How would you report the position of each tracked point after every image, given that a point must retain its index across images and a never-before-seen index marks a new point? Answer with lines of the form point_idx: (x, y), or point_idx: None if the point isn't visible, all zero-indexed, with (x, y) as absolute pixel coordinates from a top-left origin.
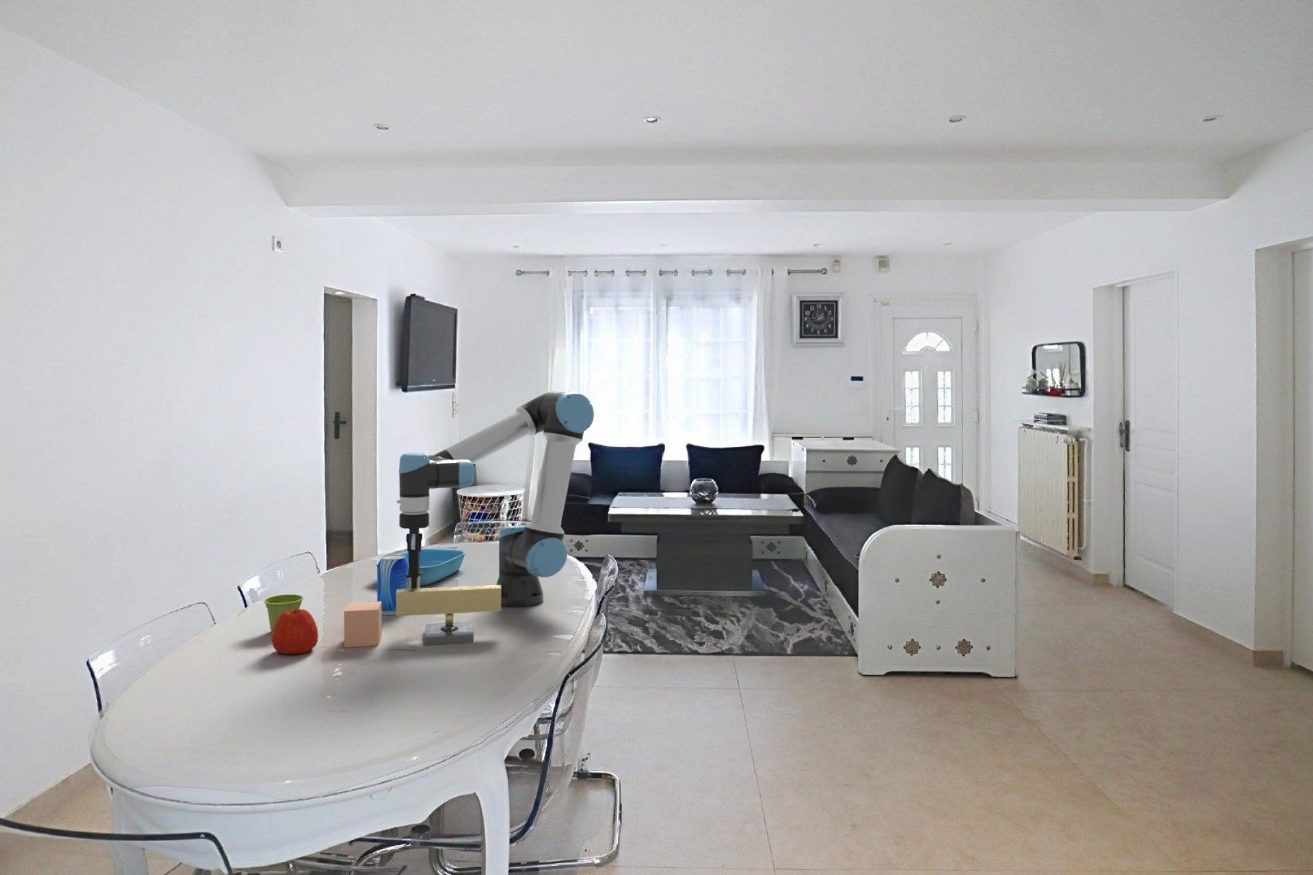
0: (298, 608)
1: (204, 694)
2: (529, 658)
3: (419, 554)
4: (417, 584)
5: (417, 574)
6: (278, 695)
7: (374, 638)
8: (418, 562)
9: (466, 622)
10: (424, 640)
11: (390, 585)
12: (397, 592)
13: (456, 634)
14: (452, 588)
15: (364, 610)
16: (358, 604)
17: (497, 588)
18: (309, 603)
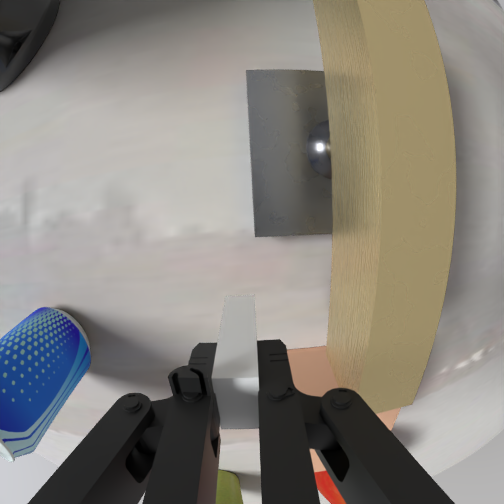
0: (219, 501)
1: (453, 444)
2: (475, 24)
3: (79, 502)
4: (257, 354)
5: (360, 403)
6: (497, 386)
7: None
8: (385, 482)
9: (261, 90)
10: None
11: (54, 394)
12: (412, 400)
13: None
14: (416, 110)
15: (391, 428)
16: (318, 457)
17: None
18: (61, 444)
